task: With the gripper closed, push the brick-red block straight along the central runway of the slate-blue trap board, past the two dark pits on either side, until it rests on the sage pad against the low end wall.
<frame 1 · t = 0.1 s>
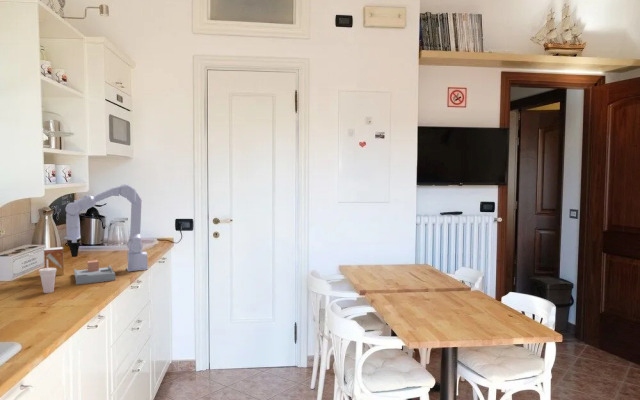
hand: (74, 255, 214), 10 cm above the counter, tool pointing down, fingers open, 7 cm apart
block: (93, 270, 217), point 2 cm above the counter, touching trap board
trap board: (94, 277, 211), on the counter
smoothie: (48, 292, 186), on the counter
small box: (54, 275, 216), on the counter
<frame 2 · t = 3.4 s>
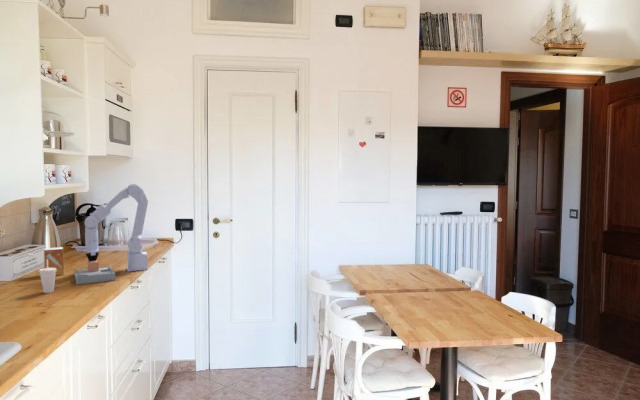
hand: (92, 267, 219), 3 cm above the counter, tool pointing down, fingers closed
block: (93, 270, 216), point 2 cm above the counter, touching gripper, trap board
everything else where it was.
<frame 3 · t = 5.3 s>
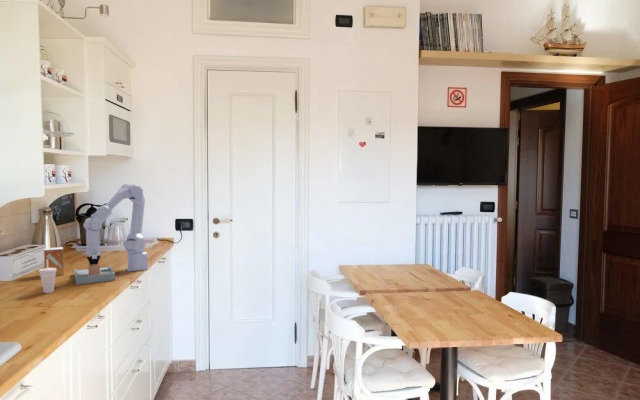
hand: (93, 271, 210), 3 cm above the counter, tool pointing down, fingers closed, pressing on block
block: (94, 274, 208), point 2 cm above the counter, touching gripper, trap board
everything else where it was.
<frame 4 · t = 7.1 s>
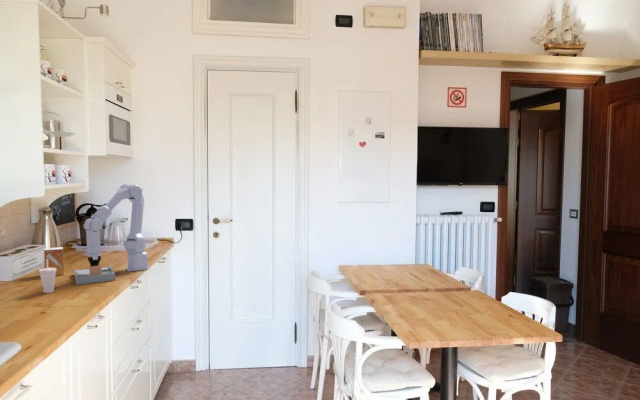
hand: (94, 272, 210), 3 cm above the counter, tool pointing down, fingers closed
block: (95, 276, 205), point 2 cm above the counter, touching trap board
everything else where it was.
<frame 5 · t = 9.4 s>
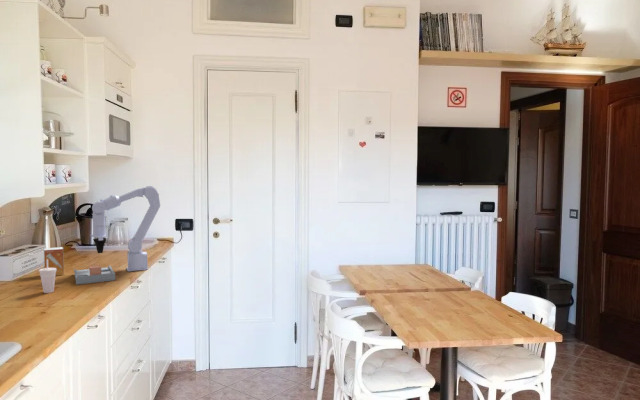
hand: (100, 252, 221), 10 cm above the counter, tool pointing down, fingers closed
nothing on the counter moved.
at the end: block 0.2 cm from the target spot on the trap board, point 1.9 cm above the trap board's base; block tilted 0° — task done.
